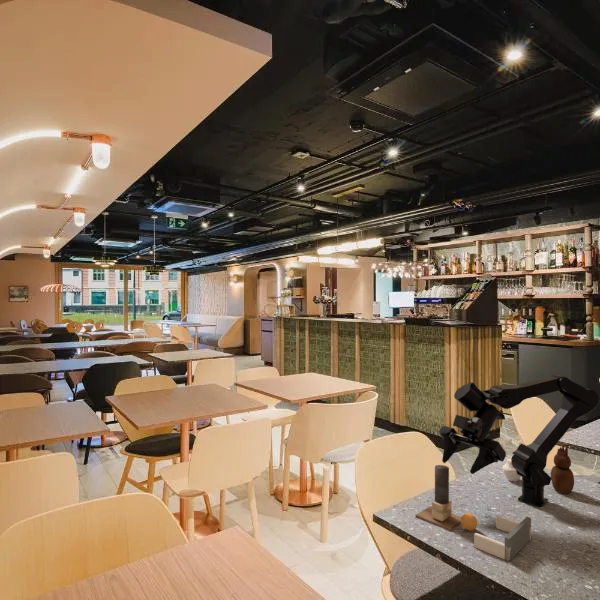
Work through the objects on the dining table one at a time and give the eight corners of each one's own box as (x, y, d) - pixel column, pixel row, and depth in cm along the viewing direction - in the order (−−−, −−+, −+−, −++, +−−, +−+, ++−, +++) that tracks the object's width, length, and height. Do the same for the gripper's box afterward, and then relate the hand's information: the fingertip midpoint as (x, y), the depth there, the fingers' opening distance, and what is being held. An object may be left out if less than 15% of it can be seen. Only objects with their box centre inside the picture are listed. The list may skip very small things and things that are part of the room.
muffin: (498, 476, 147) (498, 455, 147) (515, 476, 148) (515, 455, 148) (509, 484, 141) (509, 462, 141) (527, 483, 141) (527, 461, 142)
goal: (497, 526, 113) (497, 507, 113) (531, 538, 108) (531, 518, 108) (474, 547, 104) (474, 525, 104) (509, 561, 98) (509, 538, 98)
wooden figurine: (577, 496, 132) (577, 446, 132) (556, 495, 133) (556, 445, 133) (568, 487, 138) (568, 440, 138) (548, 486, 139) (548, 438, 140)
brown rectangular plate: (430, 507, 124) (430, 505, 124) (464, 520, 117) (464, 518, 117) (415, 516, 118) (415, 514, 118) (450, 530, 111) (450, 528, 111)
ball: (464, 524, 115) (464, 508, 115) (480, 529, 112) (480, 514, 112) (457, 529, 112) (457, 513, 112) (473, 535, 109) (473, 519, 109)
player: (440, 510, 120) (440, 463, 120) (452, 515, 118) (452, 466, 118) (430, 516, 117) (431, 467, 117) (443, 521, 114) (443, 471, 114)
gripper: (443, 398, 132) (416, 440, 126) (499, 411, 116) (472, 460, 110) (460, 421, 136) (435, 463, 130) (517, 437, 120) (492, 485, 114)
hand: (456, 467), depth 121 cm, fingers open, 9 cm apart
